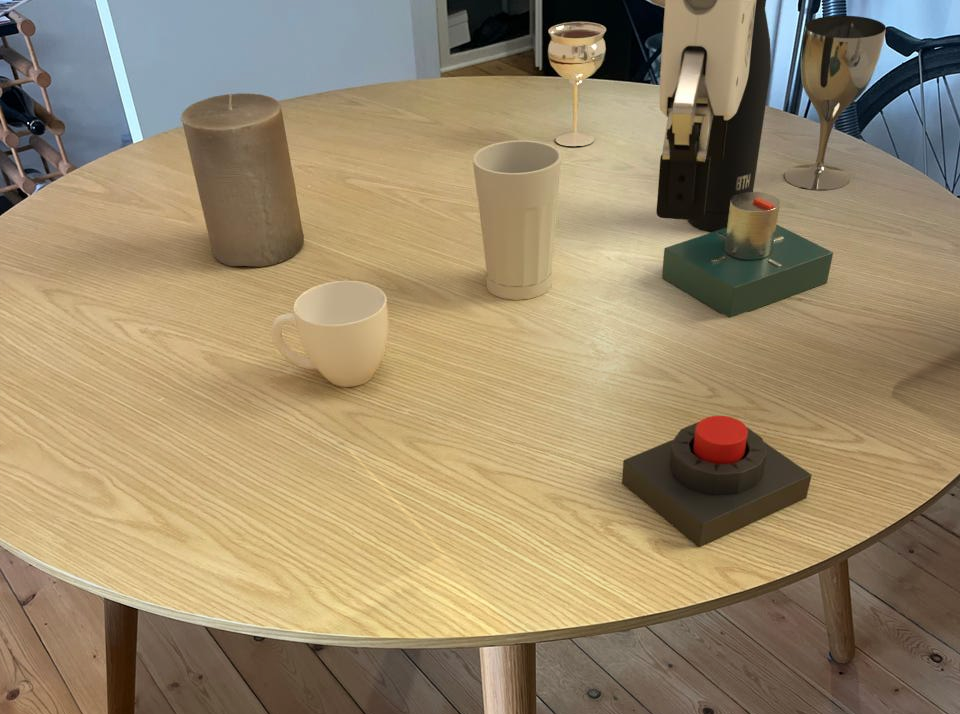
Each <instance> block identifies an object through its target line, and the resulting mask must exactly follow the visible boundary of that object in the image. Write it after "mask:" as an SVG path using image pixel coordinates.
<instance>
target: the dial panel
mask: <svg viewBox="0 0 960 714" xmlns="http://www.w3.org/2000/svg"><path fill="white" fill-rule="evenodd" d="M726 232H727V228H724V229H720V230H717V231H714V232H712V231H710V232H708V233H706V234H703V235H701V236H697V237H694V238H690V239H687V240H684V241H682V242H679V243H675V244H672V245H670V246H667V247H664V249H663V261H662V271H661V278H662V279H663V280H665V281H666V282H668V283H669V284H671V285H673V286H675V287H677V288H678V289H680V290H682V291H683V292H685V293H686V294H688V295H690V296H692V297H693V298H695V299H696V300H698V301H700V302H702V303H703V304H705V305H707V306H708V307H710V308H711V309H713V310H715V311H717V312H718V313H720V314H723V315H724V316H726V317H727V318H729V319H730V318H733V317H736V316H739V315H741V314H745V313H749V312H752V311H754V310H757V309H759V308H763V307H765V306H768V305H771V304H773V303H776V302H779V301H781V300H784V299H787V298H789V297H790V298H791V297H792V296H795V295H798V294H800V293H803V292H806V291H808V290H811V289H814V288H817V287H819V286H822V285H825V284H827V283H828V280H829V276H830V270H831V265H832V261H833V256H834V252H833V251H831V250H829V249H827V248H826V247H823V246H822V245H819V244H817V243H815V242H814V241H811V240H809V239H807V238H805V237H803V236H801V235H799V234H797V233H795V232H793V231H791V230H789V229H788V228H784V227H783V226H781V225H779V224H778V223H777V224H776V230H775V236H774V242H773V248H772V252H771V254H770V255H769V256H767V257H765V258H762V259H756V260H744V259H738V258H735V257H732V256H730V255H729V254H727V253H726V252H725V249H724V247H725V239H726Z"/></svg>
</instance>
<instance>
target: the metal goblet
mask: <svg viewBox="0 0 960 714" xmlns="http://www.w3.org/2000/svg"><path fill="white" fill-rule="evenodd" d="M886 30H887V27H886V25H885V24H884V23H883V22H881V21H879V20H877V19H874V18H870V17H865V16H859V15H858V16H857V15H829V16H821V17H816V18H814V19H811V20H809V21H807V22H806V23H805V25H804V30H803V31H804V32H803V38H802V44H801V45H802V47H801V53H800V78H801V84H802V88H803V90H804V92H805V95H806V96H807V98H808V99H809V101H810V103H811V104H812V105H813V107H814V109H815V111H816V113H817V117H818V119H819V126H820V129H819V142H818V150H817V156H816V161H815V163H813V164H802V165H797V166H793V167H791V168H788V169H787V170H786V172H785V173H784V179H785V181H786V182H787V183H789V184H791V185H792V186H795V187H797V188H800V189H805V190H812V191H829V190H836V189H839V188H842V187H845V186H847V184H849V183H850V181H851V177H850V175H849V173H847V172H846V171H845V170H843V169H841V168H838V167H836V166H832V165H825V164H824V163H825V156H826V151H827V146H828V142H829V140H830V136H831V133H832V130H833V127H834V125H835V123H836V121H837V120H838V119H839V117H840V116H841V114H843V113H844V111H845V110H847V109H848V108H849V106H851V105H852V104H853V103H854V102H855V101H856V100H857V99H858V98H859V97H860V96H861V95H862V94H863V93H864V92H865V91H866V89H867V87H868V86H869V84H870V82H871V81H872V78H873V75H874V73H875V71H876V69H877V65H878V63H879V60H880V58H881V57H880V56H881V54H882V53H881V52H882V50H883V45H884V42H885V41H884V40H885V35H886Z"/></svg>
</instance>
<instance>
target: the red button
mask: <svg viewBox="0 0 960 714" xmlns="http://www.w3.org/2000/svg"><path fill="white" fill-rule="evenodd" d="M698 422H699V423H698V424H697V426H696V430H695V438H694V446H693V450H694V453H695V455H696V456H697V457H698V458H699V459H701V460H703V461H707V462H711V463H714V464H732V463H735V462H737V461H739V460H740V459H741V458H742V457H743V455H744V453H745V447H746V441H747V435H748V430H747V428H748V426H746V424H745V423H744V422H742V421H741V420H739V419H737V418H735V417H731V416H726V415H712V416H709V417H708V416H707V417H705V418H703V419H701V420H700V421H698Z"/></svg>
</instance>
